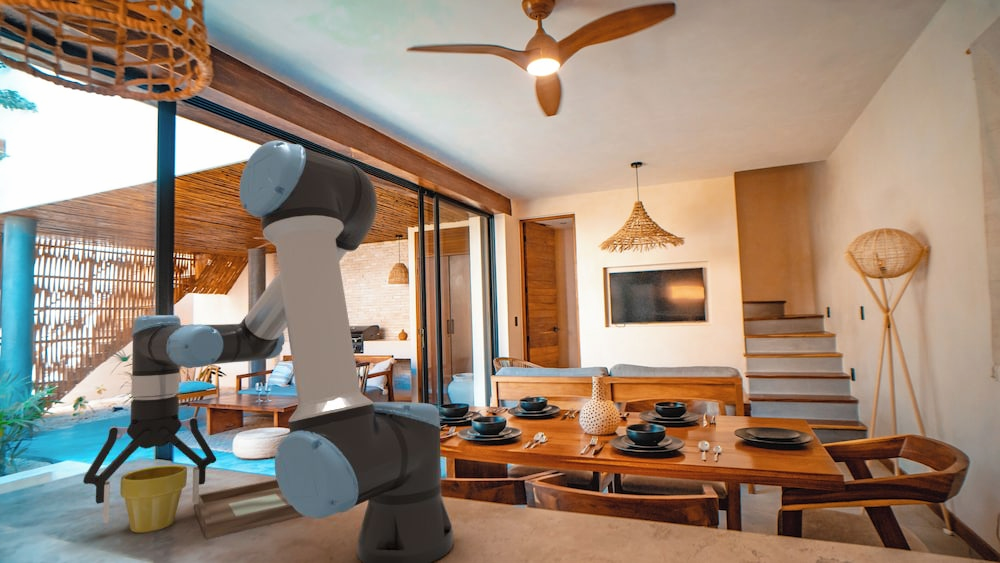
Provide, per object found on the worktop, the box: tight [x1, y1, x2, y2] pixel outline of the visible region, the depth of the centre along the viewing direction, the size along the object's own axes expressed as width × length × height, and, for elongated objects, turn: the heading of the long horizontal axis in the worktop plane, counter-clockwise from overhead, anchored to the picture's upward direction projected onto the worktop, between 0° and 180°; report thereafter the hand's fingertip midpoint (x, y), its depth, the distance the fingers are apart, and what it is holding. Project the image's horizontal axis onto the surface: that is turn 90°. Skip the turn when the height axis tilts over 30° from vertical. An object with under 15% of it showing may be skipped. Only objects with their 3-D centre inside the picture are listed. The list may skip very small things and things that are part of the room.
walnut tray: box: [193, 479, 305, 540], centre depth 102 cm, size 20×20×2 cm
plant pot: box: [119, 464, 188, 533], centre depth 95 cm, size 10×10×10 cm
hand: (152, 511), depth 95 cm, fingers open, 13 cm apart
